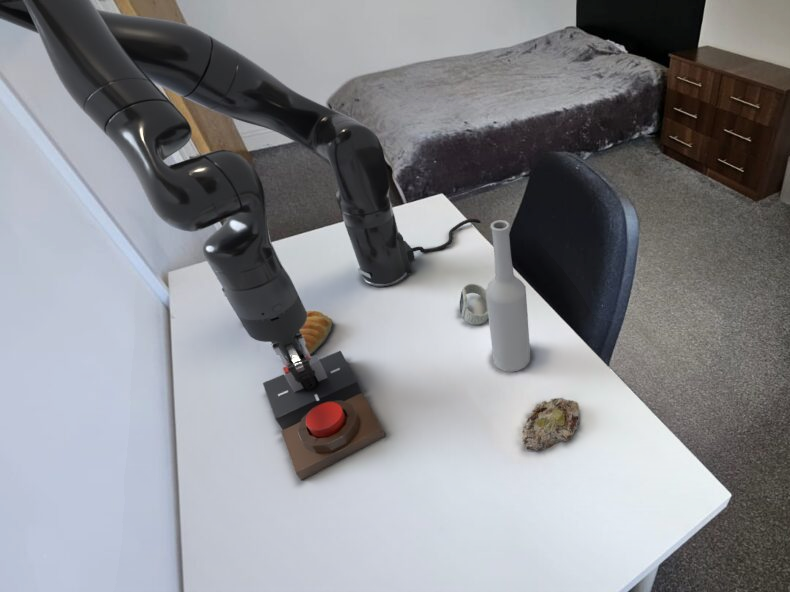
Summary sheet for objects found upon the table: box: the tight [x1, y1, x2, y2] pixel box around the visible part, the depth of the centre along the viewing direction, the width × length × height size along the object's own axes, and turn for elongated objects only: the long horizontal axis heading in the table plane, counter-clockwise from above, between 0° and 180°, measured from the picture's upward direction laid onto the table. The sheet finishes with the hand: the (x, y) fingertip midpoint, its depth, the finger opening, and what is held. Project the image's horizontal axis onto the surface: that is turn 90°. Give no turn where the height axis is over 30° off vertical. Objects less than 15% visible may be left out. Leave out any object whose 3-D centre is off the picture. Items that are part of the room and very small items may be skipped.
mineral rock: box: [522, 397, 580, 451], centre depth 73 cm, size 11×4×8 cm
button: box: [306, 402, 346, 438], centre depth 68 cm, size 5×5×2 cm
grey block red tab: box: [281, 354, 328, 392], centre depth 74 cm, size 5×2×4 cm, turn 128°
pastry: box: [300, 310, 334, 355], centre depth 85 cm, size 9×7×4 cm
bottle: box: [485, 219, 531, 373], centre depth 76 cm, size 7×7×28 cm
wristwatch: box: [459, 283, 489, 326], centre depth 92 cm, size 9×6×5 cm
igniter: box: [280, 392, 386, 481], centre depth 70 cm, size 12×8×4 cm
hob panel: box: [262, 350, 363, 431], centre depth 76 cm, size 12×9×3 cm
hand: (309, 381), depth 75 cm, fingers closed
